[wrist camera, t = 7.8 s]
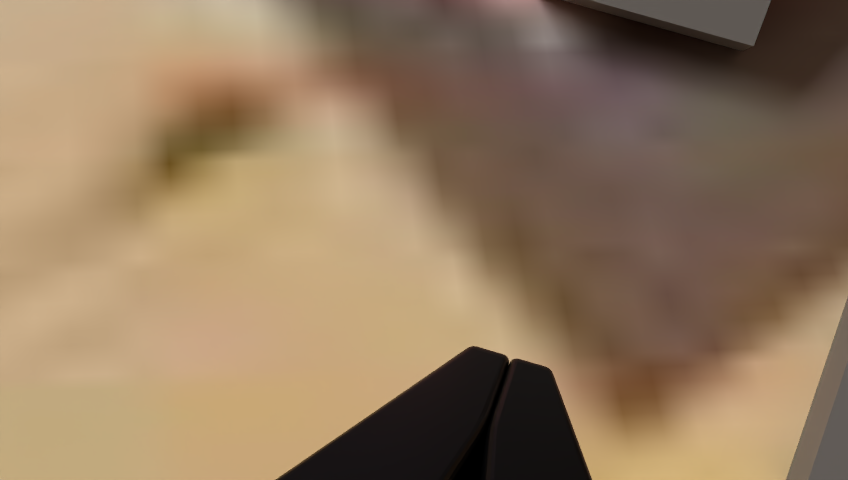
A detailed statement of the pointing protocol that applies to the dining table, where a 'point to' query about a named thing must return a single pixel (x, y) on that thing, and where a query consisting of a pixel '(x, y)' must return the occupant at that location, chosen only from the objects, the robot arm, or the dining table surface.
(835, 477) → the tile
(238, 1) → the dining table surface
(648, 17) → the tile
